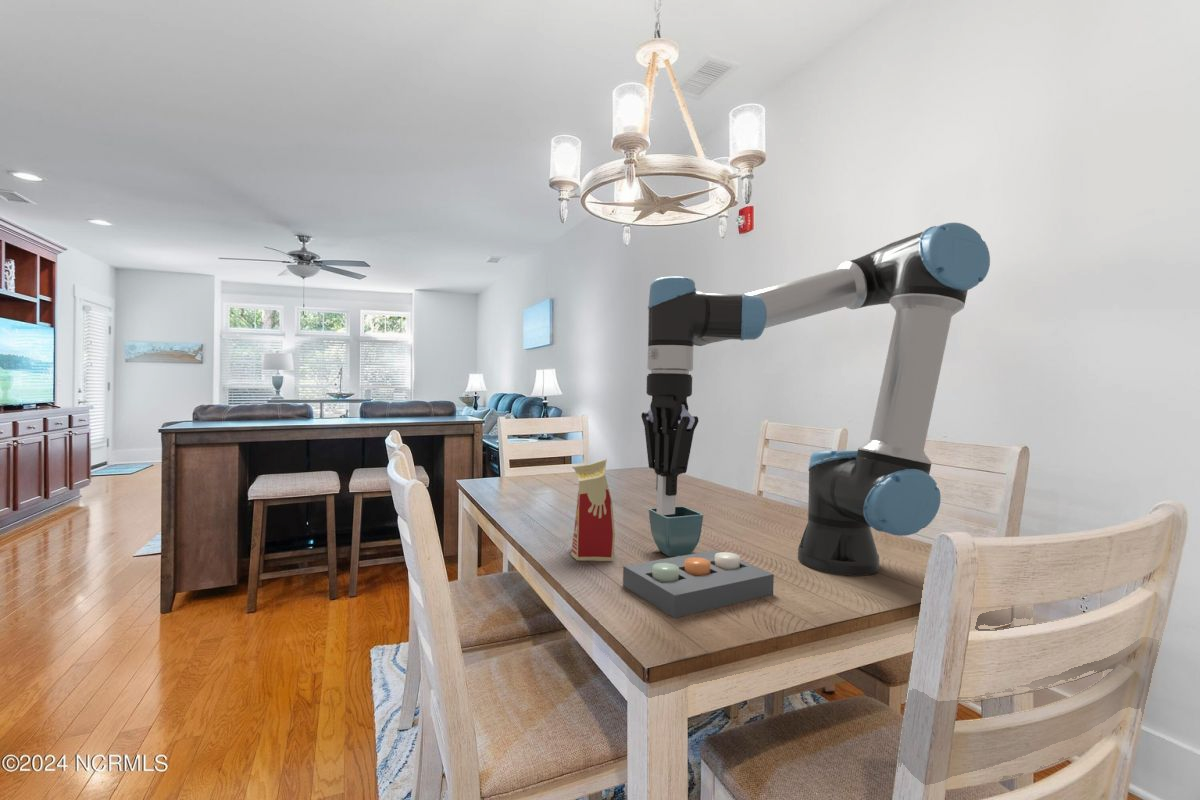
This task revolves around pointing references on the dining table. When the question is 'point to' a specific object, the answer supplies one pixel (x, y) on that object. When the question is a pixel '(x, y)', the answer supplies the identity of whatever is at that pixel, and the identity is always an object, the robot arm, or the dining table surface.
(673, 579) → the sage button
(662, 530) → the flower pot
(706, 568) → the orange button
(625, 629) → the dining table surface
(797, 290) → the robot arm
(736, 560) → the cream button
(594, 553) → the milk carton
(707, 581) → the button panel
